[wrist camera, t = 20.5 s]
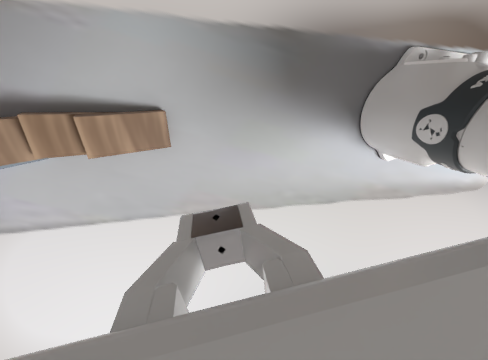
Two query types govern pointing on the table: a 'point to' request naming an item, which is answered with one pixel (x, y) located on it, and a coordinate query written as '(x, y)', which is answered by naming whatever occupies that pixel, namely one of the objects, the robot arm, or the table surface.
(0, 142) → the domino
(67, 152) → the domino
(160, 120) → the domino
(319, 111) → the table surface
